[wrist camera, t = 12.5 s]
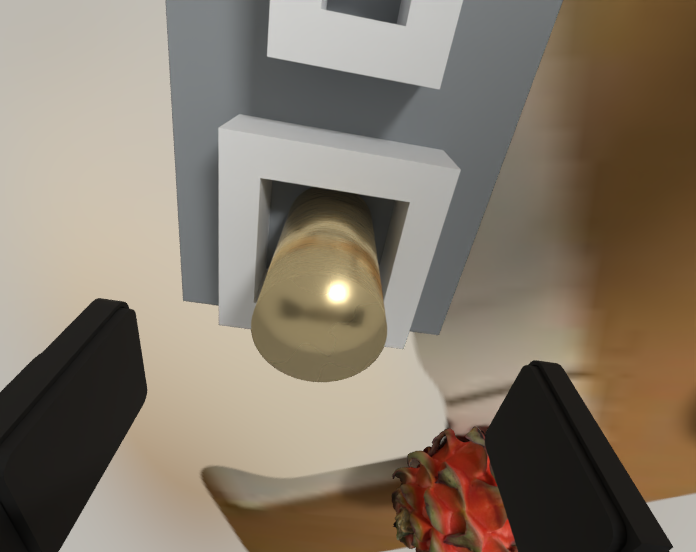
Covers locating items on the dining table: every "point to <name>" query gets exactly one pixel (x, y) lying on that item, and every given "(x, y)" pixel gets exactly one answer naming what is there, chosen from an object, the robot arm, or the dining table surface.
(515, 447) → the robot arm
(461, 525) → the dragon fruit
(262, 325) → the gold rounded cylinder
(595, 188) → the dining table surface
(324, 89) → the socket board
